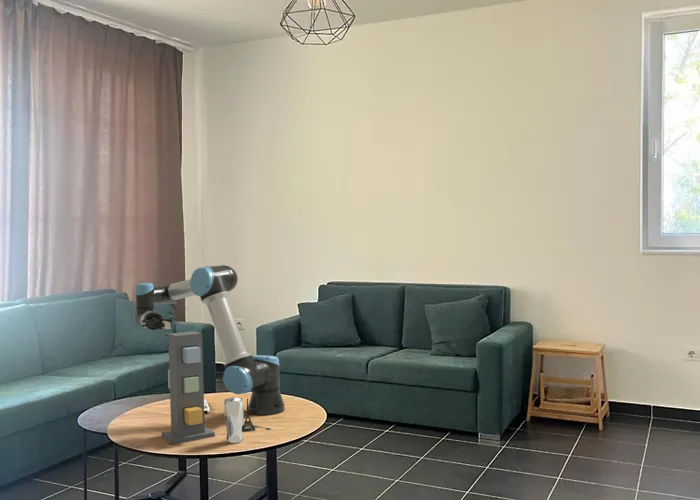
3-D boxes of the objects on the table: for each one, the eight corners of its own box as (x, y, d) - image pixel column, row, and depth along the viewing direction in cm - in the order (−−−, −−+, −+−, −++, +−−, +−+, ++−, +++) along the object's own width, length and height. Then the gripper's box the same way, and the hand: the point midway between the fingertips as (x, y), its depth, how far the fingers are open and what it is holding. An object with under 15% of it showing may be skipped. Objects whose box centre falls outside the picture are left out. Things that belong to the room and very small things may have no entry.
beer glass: (225, 438, 246) (224, 397, 246) (245, 437, 247) (243, 396, 247) (223, 444, 239) (222, 402, 239) (243, 443, 240) (242, 401, 240)
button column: (161, 436, 251) (158, 333, 250) (203, 429, 260) (200, 329, 259) (171, 444, 241) (168, 337, 240) (214, 436, 250) (211, 333, 249)
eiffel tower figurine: (273, 430, 257) (272, 395, 257) (254, 437, 249) (253, 401, 249) (245, 424, 266) (244, 390, 266) (225, 431, 258) (224, 396, 258)
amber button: (171, 418, 255) (171, 400, 255) (189, 415, 259) (189, 397, 258) (186, 428, 241) (185, 409, 241) (205, 425, 245) (204, 405, 245)
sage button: (168, 388, 257) (167, 369, 257) (186, 385, 261) (186, 367, 261) (182, 396, 243) (182, 376, 243) (201, 393, 247) (201, 374, 247)
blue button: (170, 360, 254) (169, 341, 254) (188, 358, 258) (187, 339, 258) (184, 366, 240) (184, 347, 240) (203, 364, 244) (203, 344, 244)
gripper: (167, 327, 297) (185, 333, 277) (136, 330, 290) (153, 336, 270) (166, 310, 297) (184, 315, 277) (136, 313, 290) (152, 317, 270)
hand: (168, 325), depth 273 cm, fingers closed
